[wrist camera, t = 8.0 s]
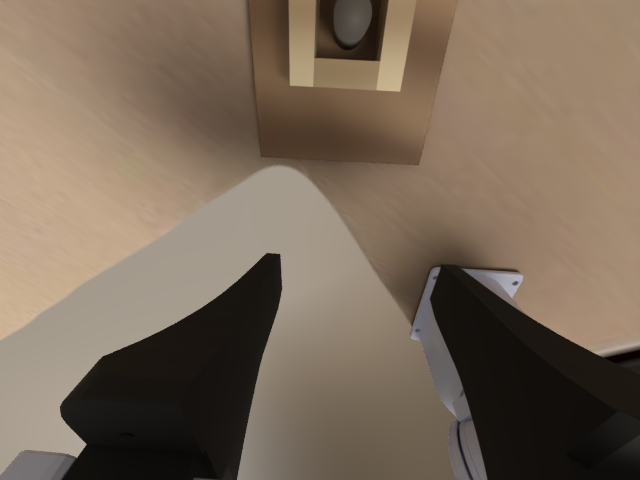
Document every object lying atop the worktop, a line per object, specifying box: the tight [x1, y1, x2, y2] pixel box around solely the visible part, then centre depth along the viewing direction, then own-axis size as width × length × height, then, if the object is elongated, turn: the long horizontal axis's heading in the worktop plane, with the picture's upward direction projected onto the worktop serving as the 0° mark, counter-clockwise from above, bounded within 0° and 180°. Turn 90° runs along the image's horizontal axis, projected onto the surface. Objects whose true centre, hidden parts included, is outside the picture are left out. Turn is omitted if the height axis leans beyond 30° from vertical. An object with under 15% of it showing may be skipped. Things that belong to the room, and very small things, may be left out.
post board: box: [248, 0, 458, 165], centre depth 13 cm, size 14×11×5 cm
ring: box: [289, 0, 417, 92], centre depth 13 cm, size 6×6×3 cm
